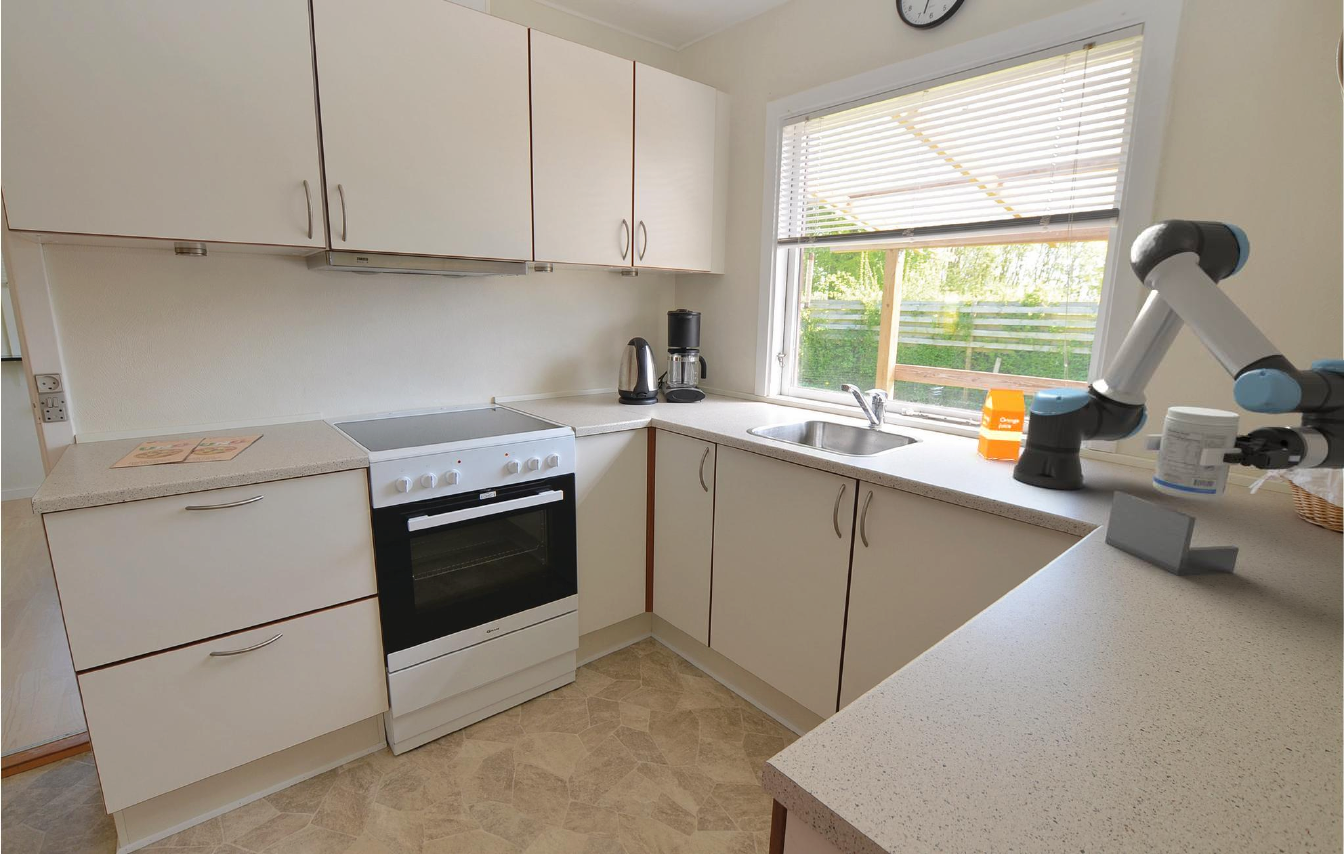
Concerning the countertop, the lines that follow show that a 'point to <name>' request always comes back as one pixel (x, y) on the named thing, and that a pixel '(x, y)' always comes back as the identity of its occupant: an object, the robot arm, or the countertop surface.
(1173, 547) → the bracket
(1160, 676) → the countertop surface
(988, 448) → the orange juice
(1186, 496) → the supplement tub
